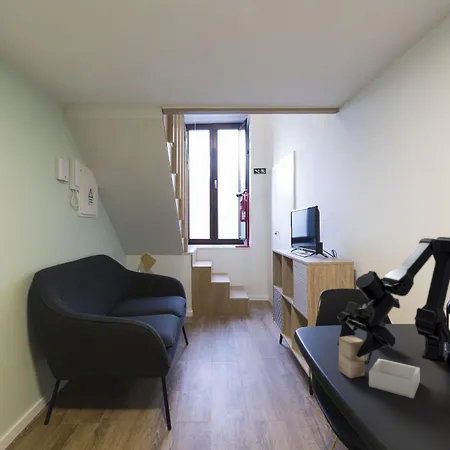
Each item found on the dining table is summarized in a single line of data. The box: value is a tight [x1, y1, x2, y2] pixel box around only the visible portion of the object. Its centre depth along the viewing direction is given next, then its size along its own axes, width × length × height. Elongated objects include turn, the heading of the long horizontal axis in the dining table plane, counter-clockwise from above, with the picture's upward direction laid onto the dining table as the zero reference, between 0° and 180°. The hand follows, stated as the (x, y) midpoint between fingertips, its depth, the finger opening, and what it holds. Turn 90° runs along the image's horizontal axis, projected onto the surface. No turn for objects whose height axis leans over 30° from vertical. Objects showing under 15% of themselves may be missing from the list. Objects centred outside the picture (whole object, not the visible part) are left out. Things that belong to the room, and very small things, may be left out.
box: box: [368, 358, 421, 400], centre depth 93 cm, size 11×11×4 cm
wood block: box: [338, 335, 366, 379], centre depth 100 cm, size 5×5×10 cm
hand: (347, 351), depth 100 cm, fingers open, 8 cm apart
